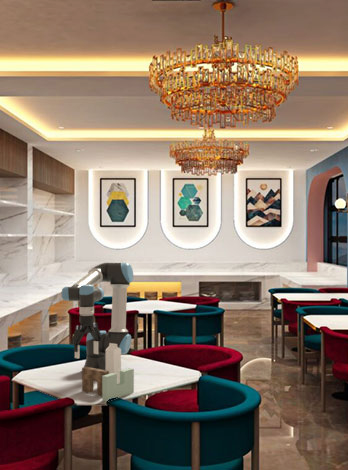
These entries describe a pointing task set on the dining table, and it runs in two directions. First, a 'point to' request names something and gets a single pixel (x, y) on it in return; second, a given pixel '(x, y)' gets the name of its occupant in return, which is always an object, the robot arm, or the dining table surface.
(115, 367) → the milk
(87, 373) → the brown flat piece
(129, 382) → the slot stand
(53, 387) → the dining table surface
